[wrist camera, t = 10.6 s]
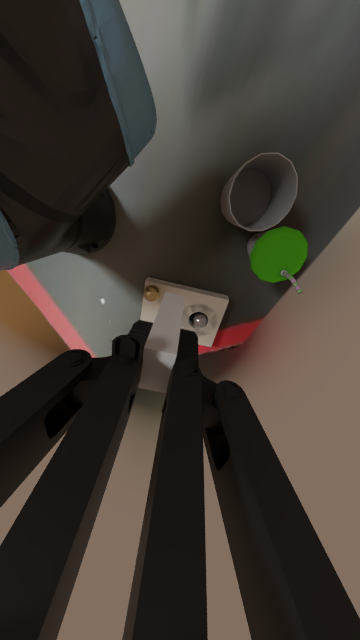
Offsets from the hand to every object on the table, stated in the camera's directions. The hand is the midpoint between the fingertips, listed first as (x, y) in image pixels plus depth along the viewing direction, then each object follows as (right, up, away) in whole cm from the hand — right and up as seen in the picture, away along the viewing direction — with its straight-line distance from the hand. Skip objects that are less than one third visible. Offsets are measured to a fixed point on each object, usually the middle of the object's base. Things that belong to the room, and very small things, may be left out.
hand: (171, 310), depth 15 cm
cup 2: (+16, +14, +21) cm, 30 cm away
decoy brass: (-5, +5, +24) cm, 25 cm away
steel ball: (+5, -1, +29) cm, 29 cm away
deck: (+1, +1, +30) cm, 30 cm away
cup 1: (+12, +20, +18) cm, 30 cm away
